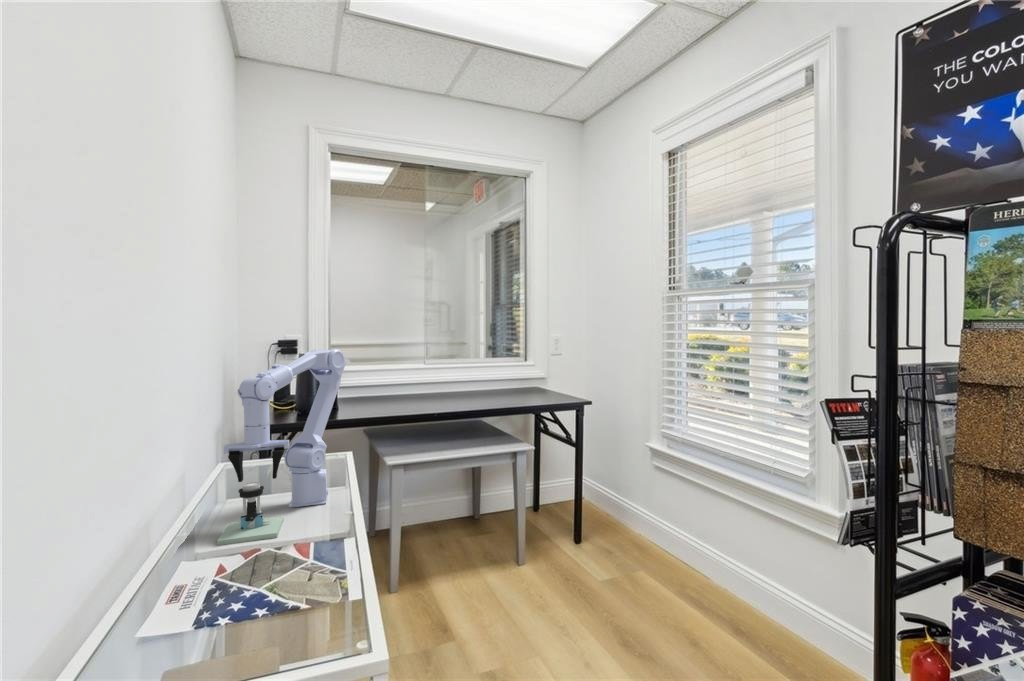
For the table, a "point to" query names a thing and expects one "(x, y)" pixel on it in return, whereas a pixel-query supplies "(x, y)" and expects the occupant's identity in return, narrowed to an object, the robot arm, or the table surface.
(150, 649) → the table surface
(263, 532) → the sage board
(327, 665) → the table surface
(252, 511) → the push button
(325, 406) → the robot arm
